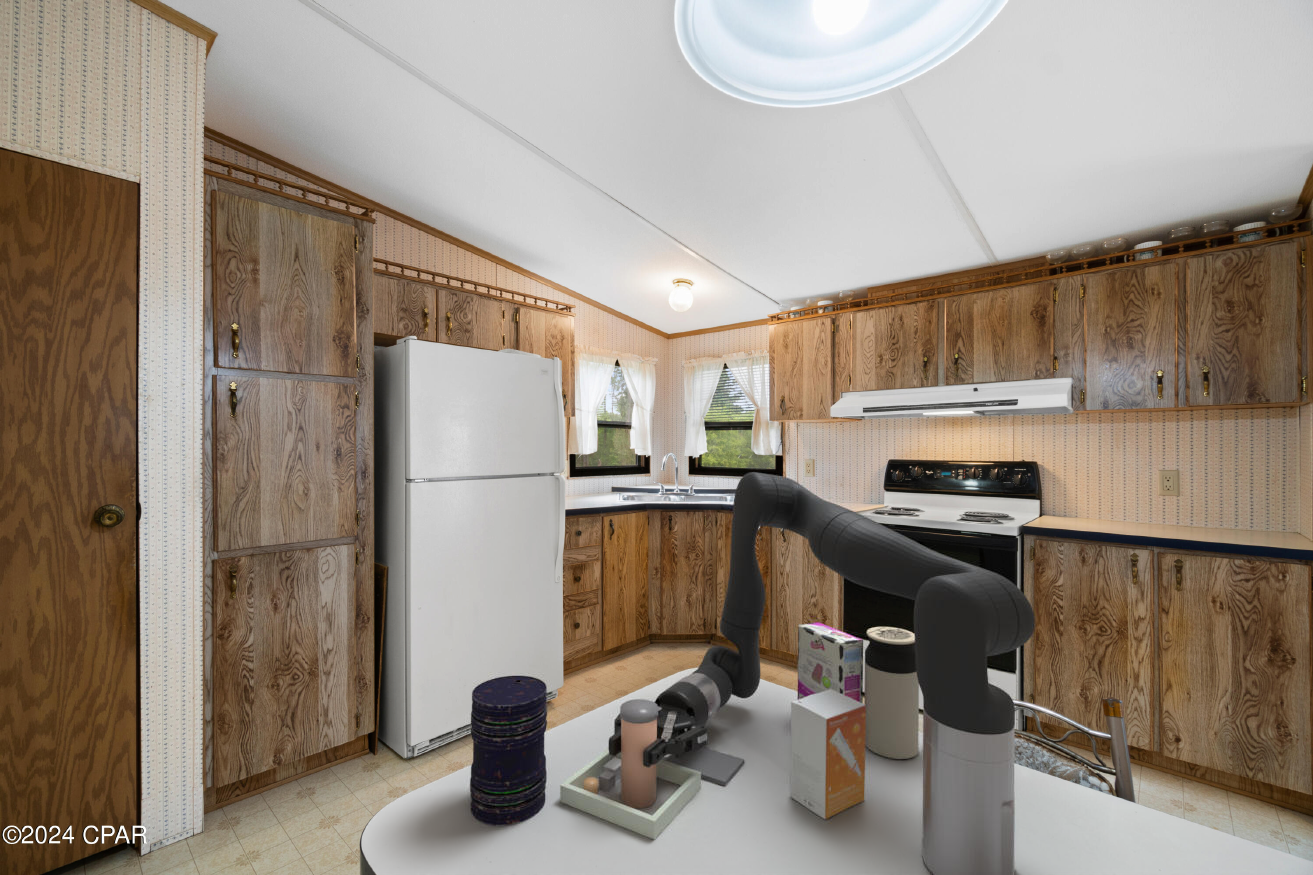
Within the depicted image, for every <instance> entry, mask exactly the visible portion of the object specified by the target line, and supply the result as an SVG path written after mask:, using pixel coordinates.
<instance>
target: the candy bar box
mask: <svg viewBox="0 0 1313 875" xmlns="http://www.w3.org/2000/svg"><path fill="white" fill-rule="evenodd" d="M797 626H798V630H797V632H798V633H797V634H798V635H797V639H798V641H797V699H796V700H799V699H802V698H804V697H807V696H809V695H812V694H817V693H820V692H823V691H827V690H830V689H832V690H834V691H836V692H838V693H841V694H843V695H845V696H847V697H849V698H852V699H854V700H856V701H858V702H860V703H863V698H864V696H863V694H864V693H863V692H864V691H863V690H864V688H863V686H864V685H863V684H864V640H863V639H862V638H858V637H856V636H854V635H852V634H849V633H846V632H844V631H841V630H839V629H837V628H833V627H831V626H829V625H826V624H824V623H821V622H819V621H818V622H812V623H811V622H810V623H805V624H798V625H797ZM863 704H864V703H863Z"/></svg>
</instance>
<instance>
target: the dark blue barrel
mask: <svg viewBox="0 0 1313 875" xmlns="http://www.w3.org/2000/svg"><path fill="white" fill-rule="evenodd" d="M547 693H548V689H547V684H546V683H545V681H543V680H541V679H540V678H538V677H534V676H528V675H507V676H505V675H504V676H500V677H499V676H498V677H494V678H491V679H488V680H486V681H483V682H481V683H480V684H477V685H476V686H475V687H474V688H473V690H472V692H471V703H472V704H471V713H470V724H471V727H470V734H471V739H472V742H473V743H472V753H473V754H472V763H471V765H470V766H471V767H470V780H469V791H470V799H471V801H470V813H471V816H472V817H473V818H474V819H475V820H476V821H478V822H480V823H481V824H485V825H487V826H493V827H505V826H506V827H507V826H512V825H518V824H520V823H524V822H525V821H528V820H530V819H531V818H533V817H535V816H536V815H537V814H539V812H541V810H543V808H544V806H545V804H546V788H547V787H546V784H547V777H548V776H547V775H548V774H547V757H546V754H545V733H546V730H547V726H548V721H547V720H548V719H547V717H548V703H547V700H548V699H547V695H548V694H547Z"/></svg>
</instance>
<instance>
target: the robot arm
mask: <svg viewBox="0 0 1313 875" xmlns="http://www.w3.org/2000/svg"><path fill="white" fill-rule="evenodd" d="M732 505H733V506H732V520H731V535H730V539H731V540H730V558H729V575H728V581H727V582H728V583H727V588H726V594H725V598H724V601H723V603H724V604H723V609H722V614H721V618H720V623H719V632H720V634H721V635H722V636H723V637H724V638H725V639H727V640H728V641H730V642H731V643H732V644H734V646H735V647H736V648H737V650H734V649H731V648H728V647H726V646H722V645H715V646H711V647H709V648H708V649H707V651H706V652H705V654H704V656H703V658H702V660H701V663H700V665H699V666H698V667H697V669H696V670H695V671H693V672H692V673H691V674H688V675H686V676H684V677H682V678H681V679H679V680H678V681H676V682H675V683H673V684H672V685H671V686H669V687H668V688H666V689H665V690H664V691H662V692H661V693H659V695H658V696H656V697H657V698H656V699H655V701H653V702H654V703H656V704H657V705H658V717H657V739H656V740H655V741H654V742H653V743H651V744H650V745H649V746H648V747H647V748H645V750H644V752H643V766H645V767H648V768H649V767H650V766H651V765H654V764H657V763H658V762H659V761H660V760H663V759H664V758H668V757H669V756H670V755H671V754H675V758H677V759H682V758H684V757H686V756H687V755H689V754H691V753H693V752H695V751H697V750H699V749H700V748H702V747H706V746H708V745H707V744H708V727H707V724H708V723H710V721H712V719H713V718H714V717H715V715H716V713H717V712H718V711H719V710H721V709H722V708H723V707H724V706H725V705H726V704H727V703H728V702H729V700H731V697H732V696H734V697H737V698H740V699H748V698H750V697H751V696H753V695H754V694H755V693H756V691H758V687H759V685H760V682H761V661H760V660H761V659H760V658H761V657H760V630H761V625H762V621H763V620H762V619H763V615H764V612H765V611H764V610H765V607H766V606H765V604H766V598H767V597H766V588H765V583H764V579H763V576H762V575H763V574H762V573H761V570H760V566H759V562H758V559H757V554H756V553H757V552H756V551H757V550H756V540H757V535H758V531H759V528H760V527H768V528H776V529H783V530H787V531H789V532H792V533H794V534H797V535H799V536H801V537H803V538H805V539H806V540H807V541H808V546H809V547H810V550H811V552H812V554H813V556H814V557H815V558H816V559H817V560H818V561H819V562H821V563H822V565H824V566H826V567H827V568H828V569H830V570H831V571H832V572H835V573H836V574H838V575H840V577H842V578H844V579H846V580H848V581H850V582H852V583H853V584H856V585H859V586H862V587H866V588H867V589H868V588H869V589H871V590H874V591H875V590H876V591H880V592H883V593H887V594H891V595H895V596H899V597H902V598H905V599H909V600H912V601H915V602H914V608H913V632H914V635H915V647H914V649H915V654H916V672H917V678H918V682H919V689H920V691H921V694H922V697H923V698H922V699H923V700H922V701H923V703H922V704H923V707H922V708H923V709H922V711H923V712H922V714H923V715H922V716H923V717H922V719H923V721H922V738H923V739H922V832H921V833H922V834H921V843H922V859H923V863H924V864H925V866H926V867H927V869H928V870H929V871H930V873H932V874H933V875H1015V835H1016V834H1015V831H1016V830H1015V829H1016V828H1015V825H1016V824H1015V820H1016V818H1015V814H1016V811H1015V810H1016V808H1015V807H1016V806H1015V799H1016V798H1015V736H1016V735H1015V731H1016V730H1015V728H1016V727H1015V725H1016V711H1015V710H1016V708H1015V703H1014V702H1015V701H1013V698H1012V697H1011V696H1010V694H1008V693H1007V691H1005V690H1004V689H1002V688H1000V687H998V686H997V685H995V684H992V683H989V675H988V661H987V660H988V658H987V657H992V656H996V655H997V656H998V655H1002V654H1006V653H1008V652H1011V651H1014V650H1016V649H1018V648H1020V647H1022V646H1023V645H1025V644H1027V642H1028V641H1029V640H1030V638H1031V637H1032V636H1033V634H1034V631H1035V629H1036V617H1035V613H1034V610H1033V607H1032V604H1031V603H1030V601H1029V599H1028V598H1027V597H1026V595H1025V594H1024V593H1023V591H1022V590H1021V589H1020V588H1019V587H1018V586H1017V585H1016V584H1014V582H1012V581H1010V580H1009V579H1007V578H1006V577H1004V576H1003V575H1001V574H999V573H997V572H994V571H991V570H989V569H986V568H983V567H979V566H977V565H974V564H971V563H968V562H966V561H962V560H959V559H955V558H953V557H951V556H948V555H945V554H943V553H939V551H936V550H933V549H931V548H929V547H927V546H925V545H922V544H920V543H918V542H917V541H915V540H913V539H911V538H909V537H907V536H905V535H903V534H901V533H899V532H897V531H894V530H892V529H891V528H889V527H886V526H885V525H882V524H881V523H879V522H877V521H875V520H872V519H871V518H869V517H867V516H865V515H862V514H860V513H859V512H856V511H854V510H851V509H849V508H846V507H844V506H841V505H839V504H837V503H834V502H831V501H827V500H826V499H822V497H819V496H818V495H816V494H815V493H813V492H812V491H811V490H809V489H808V488H806V487H804V486H803V485H801V484H800V483H798V482H797V481H796V480H794V479H792V478H790V477H786V476H784V475H783V476H782V475H781V476H780V475H774V474H769V473H762V472H755V471H753V472H752V471H751V472H748V473H746V474H744V475H742V477H741V478H740V479H739V481H738V484H737V486H736V489H735V493H734V498H733V504H732ZM613 726H614V728H613V729H614V732H613V733H614V734H613V735H612V736H610V737H609V738H608V749H609V754H610V755H612V756H616V755H617V754H618V753H619V752H621V716H620V713H618V715H617V716H616V717H615V719H614V725H613ZM685 742H686V745H685V747H684V743H685Z"/></svg>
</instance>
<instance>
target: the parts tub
mask: <svg viewBox="0 0 1313 875" xmlns="http://www.w3.org/2000/svg"><path fill="white" fill-rule="evenodd" d="M665 760H666V759H665ZM665 760H664V759H661V760H660V761H659V762H658V763H657V771H656V778H659V779H662V780H665V781H667V782H671V783H674V784H676V785H680V786H679V787H678V788H677V789H676V790H675V792H674V793H673V794H672V795H671V796H670V797H669V798H668V799H666V801H665V802H664V803H663V804H662V805H661V806H660V807H659V808H658V809H657V810H656V812H654V813H653V814H652V815H651V814H649V813H646V812H644V811H641V810H639V809H637V808H632V807H629V806H627V805H625V804H624V803H620V802H617V801H615V800H612V799H610V798H607V797H604V796H602V795H599V789H601V790H604V791H606V792H609V791H611V790H612V789H613V788H615V786H616V781H617V780H618V779H620V778H621V752H619V753H618V754H617V755H616V756H612V755H610V754H609V748H607V749H605V751H604V752H602V753H601V754H599V755H598V756H597V757H595V758H594V759H593V760H591V761H590V762H589V763H588V764H586V765H585V766H583V768H581V769H580V770H578V771H577V772H576V773H575V774H573V775H572V776H571V777H569V778H568V779H566V780H565V781H564V782H563V783H561V784H560V785H559V787H560V789H559V791H560V792H559V794H560V796H559V799H560V800H559V802H560V803H561V804H564V805H568V806H570V807H573V808H575V809H577V810H581V811H583V812H585V813H587V814H590V815H591V816H592V815H593V816H595V817H597V818H600V819H603V820H604V821H607V822H610V823H613V824H615V825H617V826H620V827H622V828H624V829H627V830H629V831H632V832H634V833H637V834H639V835H642V836H645V837H646V838H650V839H652V840H656V839H657V838H658V836H660V834H661V833H662V832H663V831H664V830H665V829H666V828H667V826H668V825H669V824H670V823H671V822H672V821H673V820H674V819H675V818H676V816H678V814H679V813H680V812H681V811H682V810H683V809H684V807H685V806H686V805H688V803H689V802H690V801H691V800H692V799H693V798H694V796H696V795H697V793H698V792H700V790H701V788H702V778H701V772H699V771H696V770H693V769H689V768H686V767H683V766H680V765H677V764H674V763H671V762H668V761H665Z"/></svg>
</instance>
